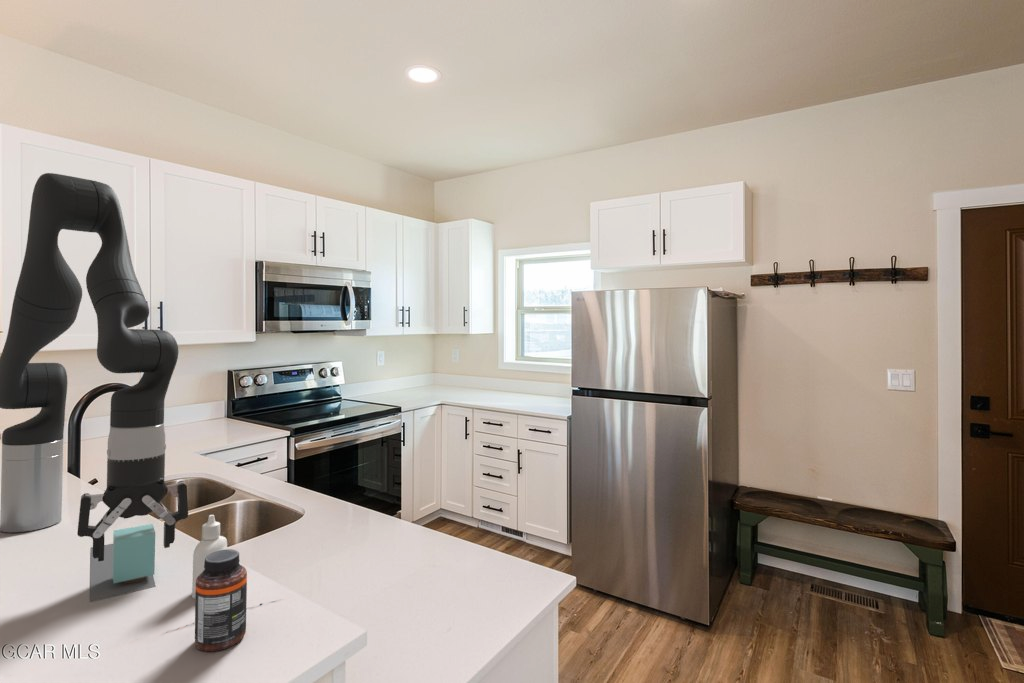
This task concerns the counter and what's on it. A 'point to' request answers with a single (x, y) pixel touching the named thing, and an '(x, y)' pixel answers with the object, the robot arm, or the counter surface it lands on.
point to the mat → (111, 578)
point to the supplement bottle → (220, 601)
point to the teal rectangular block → (133, 553)
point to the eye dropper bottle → (207, 547)
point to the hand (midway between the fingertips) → (134, 552)
